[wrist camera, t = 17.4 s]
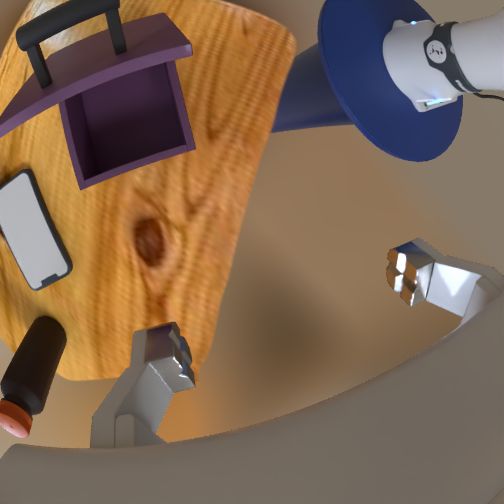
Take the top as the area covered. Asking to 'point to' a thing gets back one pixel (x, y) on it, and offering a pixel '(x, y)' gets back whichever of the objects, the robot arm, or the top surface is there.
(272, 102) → the top surface
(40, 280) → the smartphone
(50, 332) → the bottle
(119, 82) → the purple box
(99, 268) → the top surface
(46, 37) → the lid
